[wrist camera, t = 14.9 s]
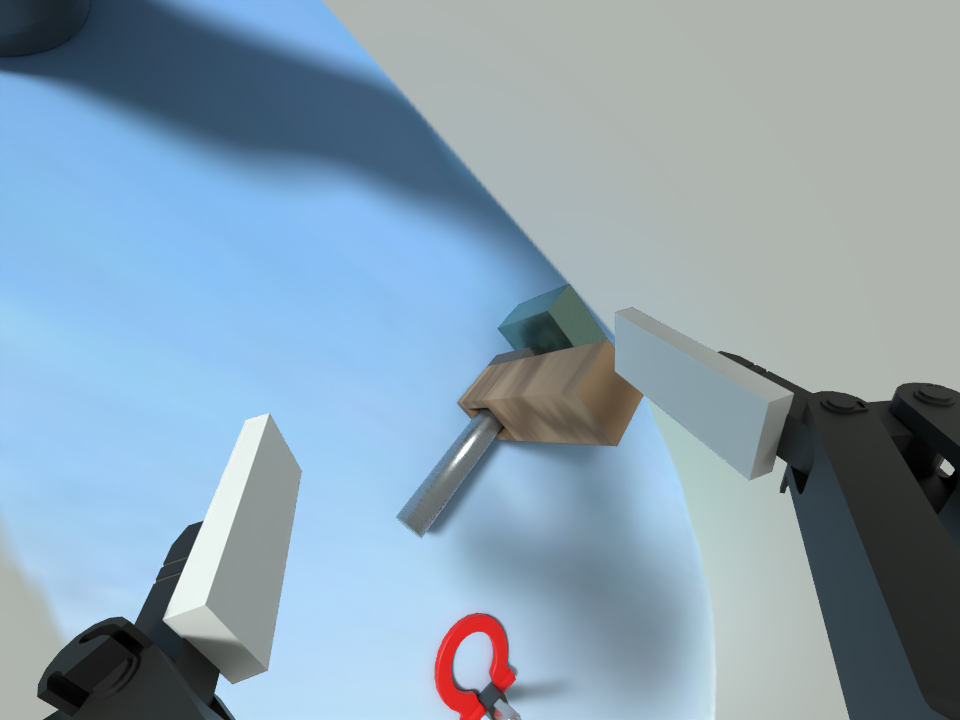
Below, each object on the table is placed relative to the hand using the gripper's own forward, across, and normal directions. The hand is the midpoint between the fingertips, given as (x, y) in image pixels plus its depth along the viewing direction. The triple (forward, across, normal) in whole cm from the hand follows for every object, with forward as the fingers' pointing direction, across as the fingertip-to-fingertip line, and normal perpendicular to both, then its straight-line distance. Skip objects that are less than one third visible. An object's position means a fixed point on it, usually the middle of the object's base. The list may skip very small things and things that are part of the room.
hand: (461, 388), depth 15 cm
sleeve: (+25, +5, -19) cm, 32 cm away
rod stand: (+24, +4, -19) cm, 31 cm away
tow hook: (+9, -5, -39) cm, 40 cm away
